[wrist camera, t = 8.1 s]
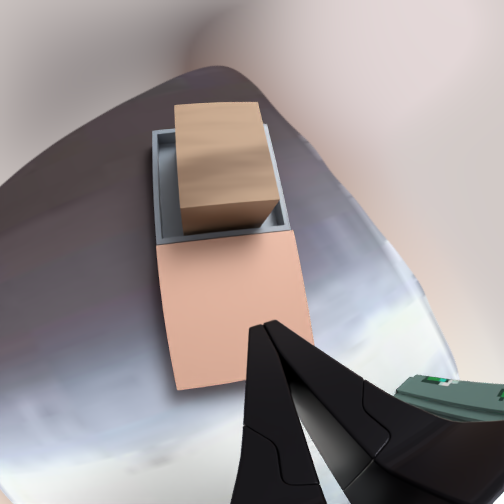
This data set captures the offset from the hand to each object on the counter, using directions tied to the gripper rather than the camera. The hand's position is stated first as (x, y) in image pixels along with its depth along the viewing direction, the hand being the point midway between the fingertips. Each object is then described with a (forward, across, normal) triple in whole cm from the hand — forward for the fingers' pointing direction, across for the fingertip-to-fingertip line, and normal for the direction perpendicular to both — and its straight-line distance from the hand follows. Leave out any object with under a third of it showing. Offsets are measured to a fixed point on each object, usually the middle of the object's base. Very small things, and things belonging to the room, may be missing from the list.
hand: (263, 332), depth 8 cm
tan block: (+12, -1, +2) cm, 12 cm away
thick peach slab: (+11, 0, +8) cm, 14 cm away
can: (+1, -14, +20) cm, 25 cm away
